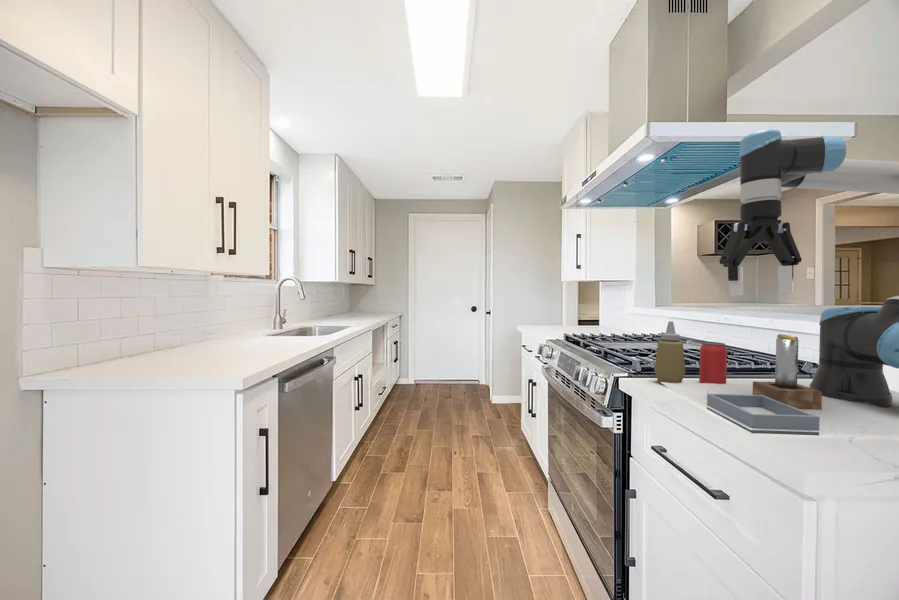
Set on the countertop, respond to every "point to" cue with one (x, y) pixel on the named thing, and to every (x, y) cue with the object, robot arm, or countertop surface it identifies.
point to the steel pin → (786, 362)
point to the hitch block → (790, 395)
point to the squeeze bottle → (670, 357)
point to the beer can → (713, 363)
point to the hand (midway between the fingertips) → (761, 294)
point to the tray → (784, 419)
